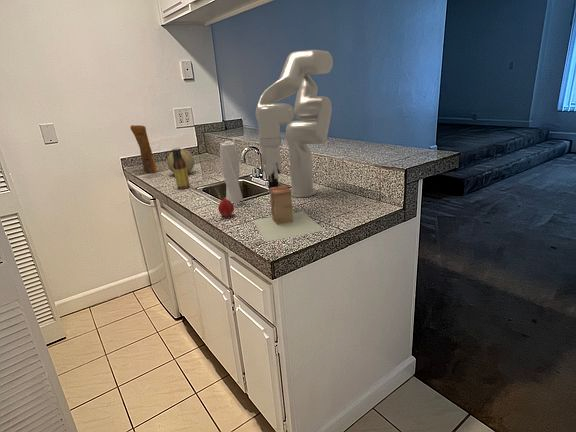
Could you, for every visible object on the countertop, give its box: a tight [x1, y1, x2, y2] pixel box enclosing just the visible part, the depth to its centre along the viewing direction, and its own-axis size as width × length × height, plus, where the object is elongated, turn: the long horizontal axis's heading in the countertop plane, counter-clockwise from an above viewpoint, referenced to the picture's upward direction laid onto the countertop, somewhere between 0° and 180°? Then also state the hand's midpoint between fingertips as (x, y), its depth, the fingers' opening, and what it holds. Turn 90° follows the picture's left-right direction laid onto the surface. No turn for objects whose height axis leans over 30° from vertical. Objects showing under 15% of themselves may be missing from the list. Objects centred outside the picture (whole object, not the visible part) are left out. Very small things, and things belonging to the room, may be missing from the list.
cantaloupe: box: [166, 148, 195, 174], centre depth 205 cm, size 15×15×15 cm
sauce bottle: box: [171, 147, 190, 190], centre depth 177 cm, size 7×6×20 cm
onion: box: [218, 197, 235, 218], centre depth 136 cm, size 6×6×8 cm
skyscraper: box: [219, 137, 244, 206], centre depth 149 cm, size 8×8×28 cm
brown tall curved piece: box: [129, 124, 158, 174], centre depth 215 cm, size 7×19×28 cm, turn 39°
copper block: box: [269, 184, 293, 225], centre depth 128 cm, size 6×6×12 cm
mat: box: [252, 211, 325, 243], centre depth 126 cm, size 20×20×1 cm
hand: (274, 191), depth 134 cm, fingers closed
